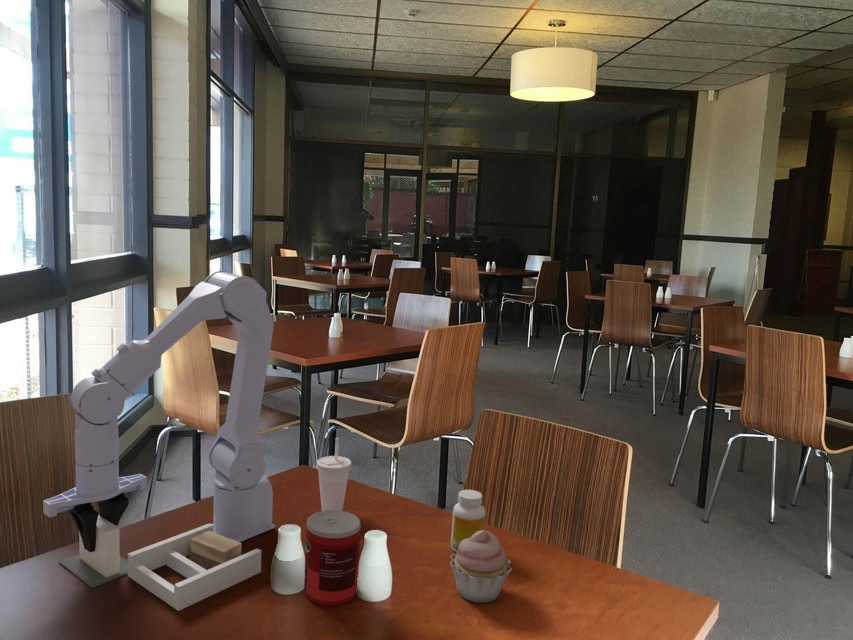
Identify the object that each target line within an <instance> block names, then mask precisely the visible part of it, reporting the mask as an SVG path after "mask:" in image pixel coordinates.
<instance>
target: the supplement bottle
mask: <svg viewBox="0 0 853 640" xmlns="http://www.w3.org/2000/svg"><path fill="white" fill-rule="evenodd" d="M482 504H483V494H482V493H481V492H480V491H477V490H475V489H463V490H460V491H459V492H458V496H457V503H456V504H455V505H454V506H453V509H452V510H453V511H452V519H451V521H452V523H451V534H450V535H451V536H450V549H452V551H454V552H455V554H457V551H458V549H459V545H460V543H461V541H462V540H464V539H466V538H471V536H472V535H474V534H475V533H476V532H478V531H482V530H485V520H486V519H485V518H486V510H485V507H484V506H483V505H482Z"/></svg>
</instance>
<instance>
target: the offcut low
mask: <svg viewBox="0 0 853 640" xmlns="http://www.w3.org/2000/svg"><path fill="white" fill-rule="evenodd" d="M188 559H189V560H191V561H192V562H194V563H196V564H197V565H199V566H201V567H202V568H204V569H206V570H209V569H211V568H213V567H216V566H218V565H220V564H221V563H218V562H216V561H213V560H211V559H208V558H206V557H203V556H201V555H198V554H196V553H193V552H191V546H190V547H189V555H188Z"/></svg>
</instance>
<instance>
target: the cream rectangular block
mask: <svg viewBox="0 0 853 640" xmlns="http://www.w3.org/2000/svg"><path fill="white" fill-rule="evenodd" d="M78 537H79V540H78V542H79V554H80V559H81V560H83V561H84V562H85V563H87V564H88V565H90V566H91V567H92V568H94V569H95V570H97V571H98V572H99V573H101V574H102V575H103V576H105V577H106V578H107V577H109V576H112V575H114V574H117V573H120V556H121V555H120V553H121V552H120V527H119V526H115V525H114V524H112V523H111V522H109V521H107V520H106V519H104V518H103V517H101V516H100V514H99V515H98V519H97V524H96V548H95V551H94V552H89V551H87V550H86V549H84V546H83V541H82V538H81V535H80V532H79V531H78Z"/></svg>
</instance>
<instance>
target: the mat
mask: <svg viewBox="0 0 853 640" xmlns="http://www.w3.org/2000/svg"><path fill="white" fill-rule="evenodd" d="M58 563H59V564H60V566H62V567H64V568H65V569H66V570H68V571H69V572H70V573H72V574H73V575H74V576H75V577H77V578H78V579H80V580H81V581H82V582H83V583H85V584H86V585H87V586H89V587H90V588H91V589H93V588H96V587H98V586H102V585H104V584H106V583H108V582H112V581H115V580H116V579H118V578H121V577H124V576H126V575H127V576H128V559H126V558H125V557H124V556H122V555H120V573H117V574H114V575H112V576H109V577H107V578H106V577H105V576H103V575H102V574H101V573H99V572H98V571H97V570H95V569H94V568H92V567H91V566H90V565H88V564H87V563H85V562H84V561H83V560H81V559H80V553H79V554H75V555H73V556H70V557H68V558H65V559H61V560H59V561H58Z"/></svg>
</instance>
